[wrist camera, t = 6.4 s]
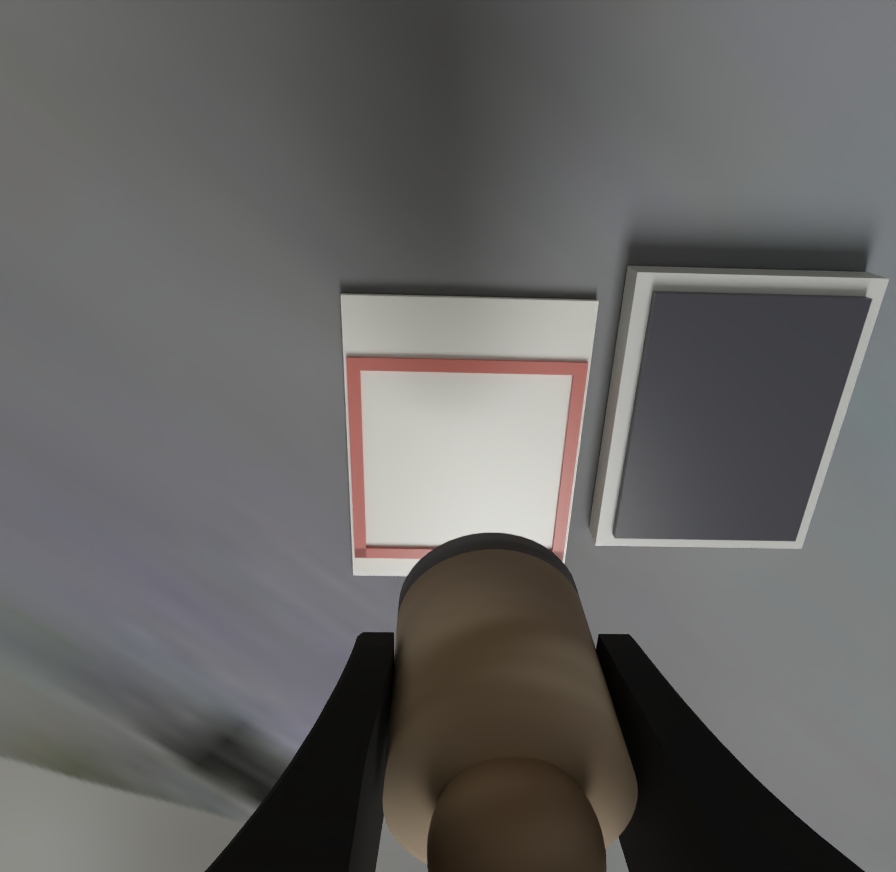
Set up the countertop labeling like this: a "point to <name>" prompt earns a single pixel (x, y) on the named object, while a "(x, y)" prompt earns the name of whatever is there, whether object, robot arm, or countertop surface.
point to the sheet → (461, 420)
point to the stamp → (501, 717)
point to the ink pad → (727, 403)
